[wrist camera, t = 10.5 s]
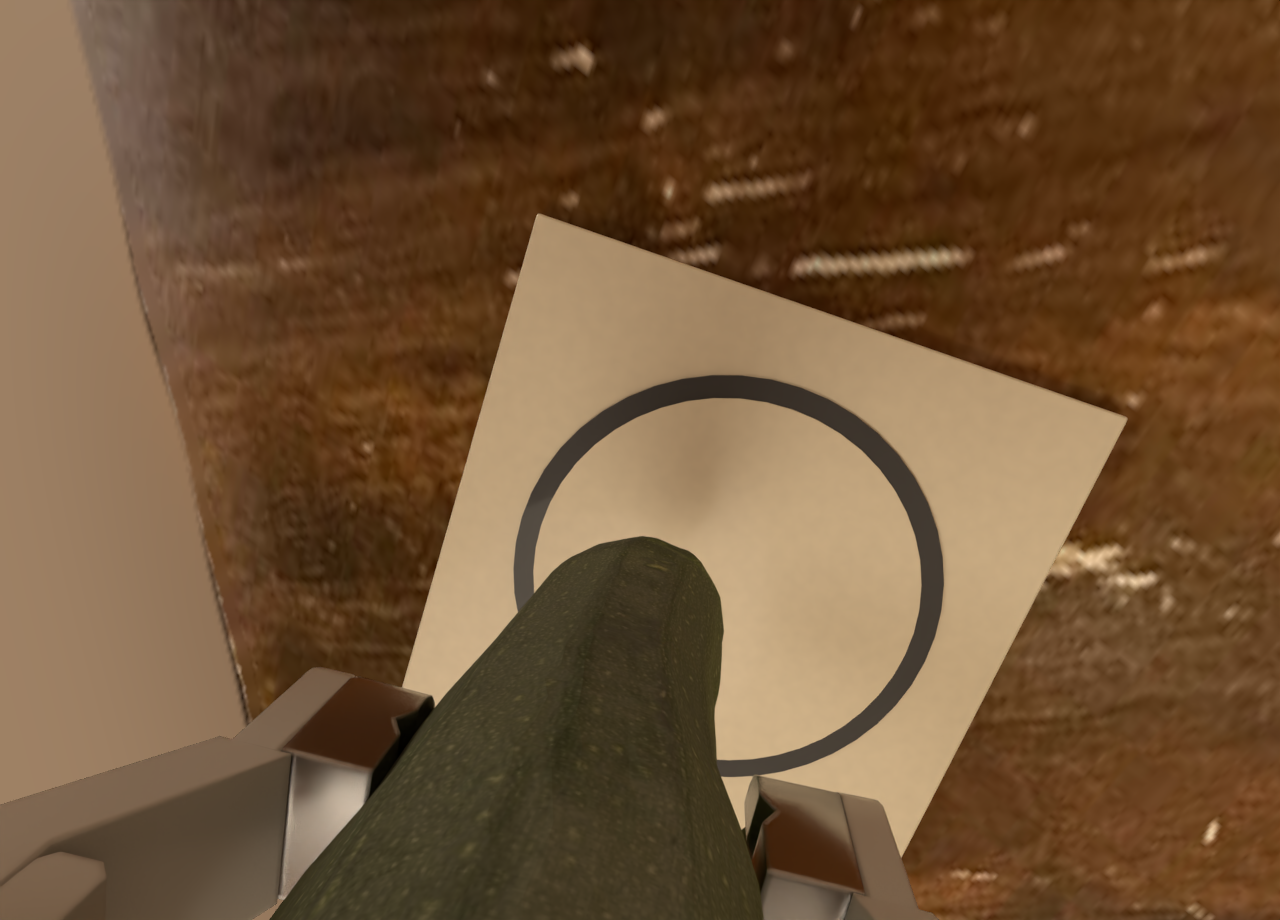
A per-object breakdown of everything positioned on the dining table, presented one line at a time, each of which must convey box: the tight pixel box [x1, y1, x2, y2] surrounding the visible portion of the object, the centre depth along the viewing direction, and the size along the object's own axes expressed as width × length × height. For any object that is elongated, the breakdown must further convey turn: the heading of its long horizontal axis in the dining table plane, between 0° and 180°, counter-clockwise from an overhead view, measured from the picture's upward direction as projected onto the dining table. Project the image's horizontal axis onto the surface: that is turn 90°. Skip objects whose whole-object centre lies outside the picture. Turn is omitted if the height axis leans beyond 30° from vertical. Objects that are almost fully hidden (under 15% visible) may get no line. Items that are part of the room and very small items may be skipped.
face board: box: [402, 214, 1128, 858], centre depth 20 cm, size 16×16×1 cm
